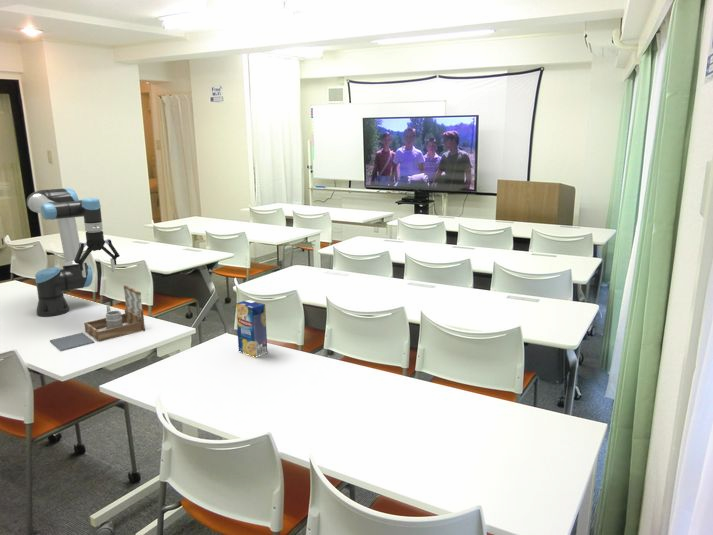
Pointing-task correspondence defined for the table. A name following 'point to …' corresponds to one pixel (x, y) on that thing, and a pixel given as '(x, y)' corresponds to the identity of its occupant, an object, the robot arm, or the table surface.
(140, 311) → the box
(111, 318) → the mug
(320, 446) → the table surface
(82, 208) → the robot arm
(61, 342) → the slate mat
